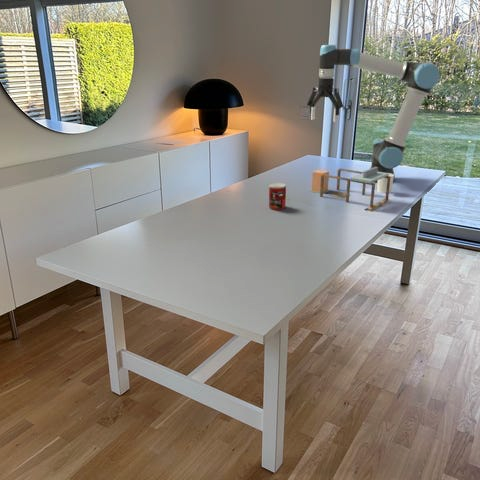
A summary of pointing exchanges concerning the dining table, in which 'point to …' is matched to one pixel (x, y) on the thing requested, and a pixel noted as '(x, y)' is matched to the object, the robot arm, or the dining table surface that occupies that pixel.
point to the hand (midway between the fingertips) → (323, 120)
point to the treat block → (319, 180)
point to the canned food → (277, 196)
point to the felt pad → (318, 192)
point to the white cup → (385, 184)
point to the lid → (370, 175)
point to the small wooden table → (342, 195)
